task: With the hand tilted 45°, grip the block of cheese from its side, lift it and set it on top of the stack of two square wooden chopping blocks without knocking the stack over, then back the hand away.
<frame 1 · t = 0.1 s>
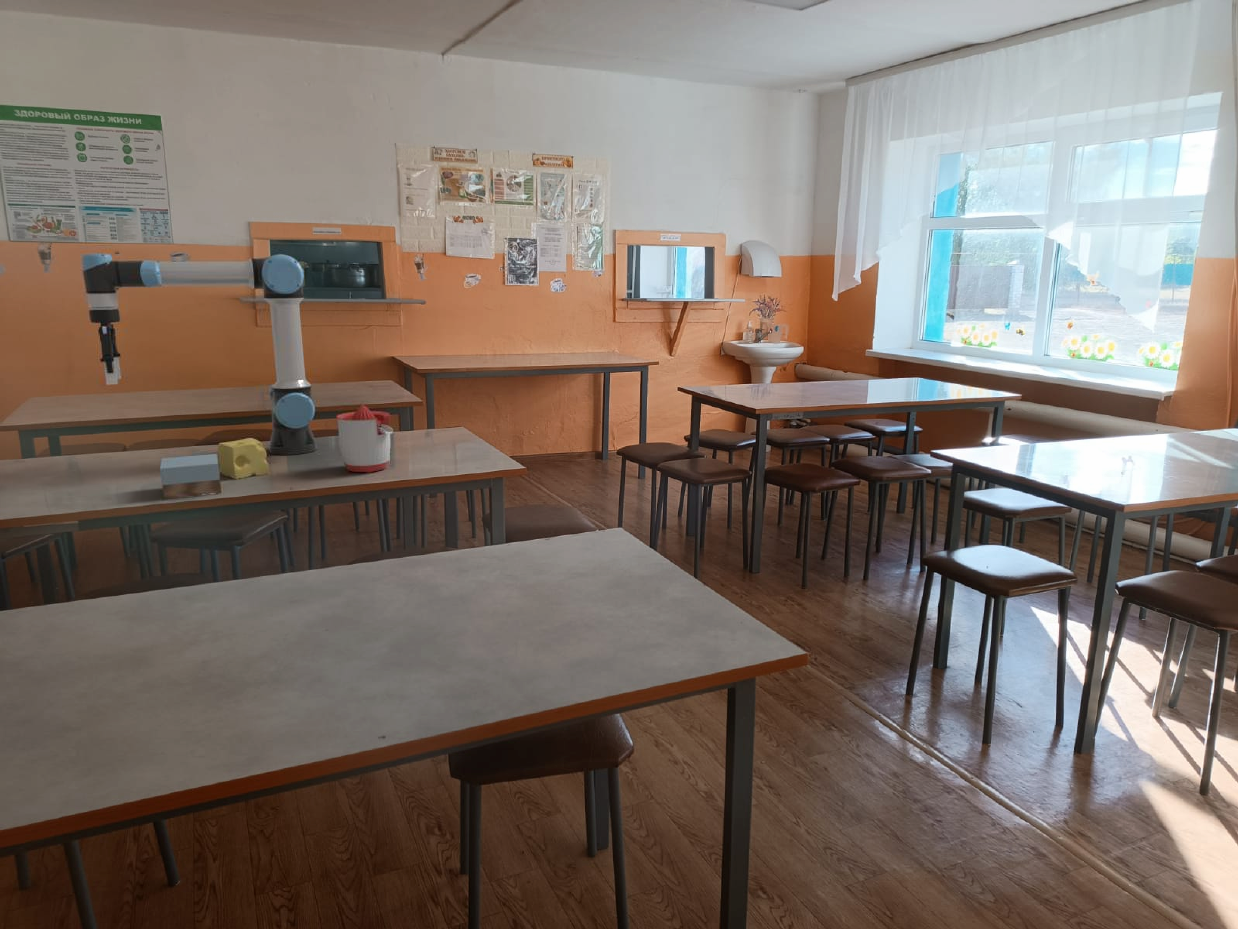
hand: (114, 381, 250), 28 cm above the table, tool pointing down, fingers open, 13 cm apart
tower base block: (193, 492, 237), on the table, touching tower top block
cheese: (244, 475, 256), on the table
citrus juicer: (369, 469, 262), on the table
tower top block: (191, 476, 235), point 4 cm above the table, touching tower base block
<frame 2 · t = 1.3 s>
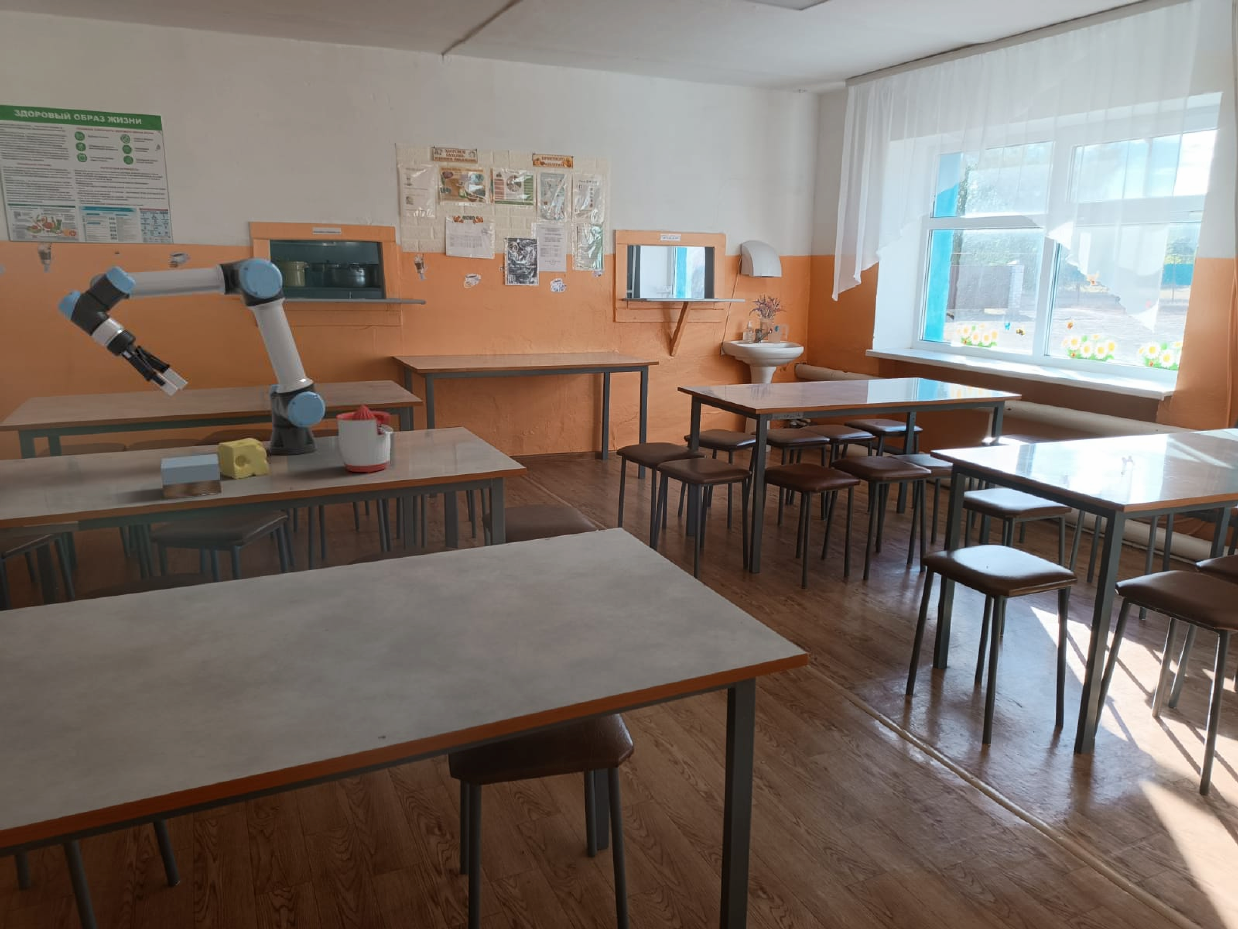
hand: (179, 389, 246), 26 cm above the table, tool tilted 45°, fingers open, 13 cm apart
nothing on the table moved.
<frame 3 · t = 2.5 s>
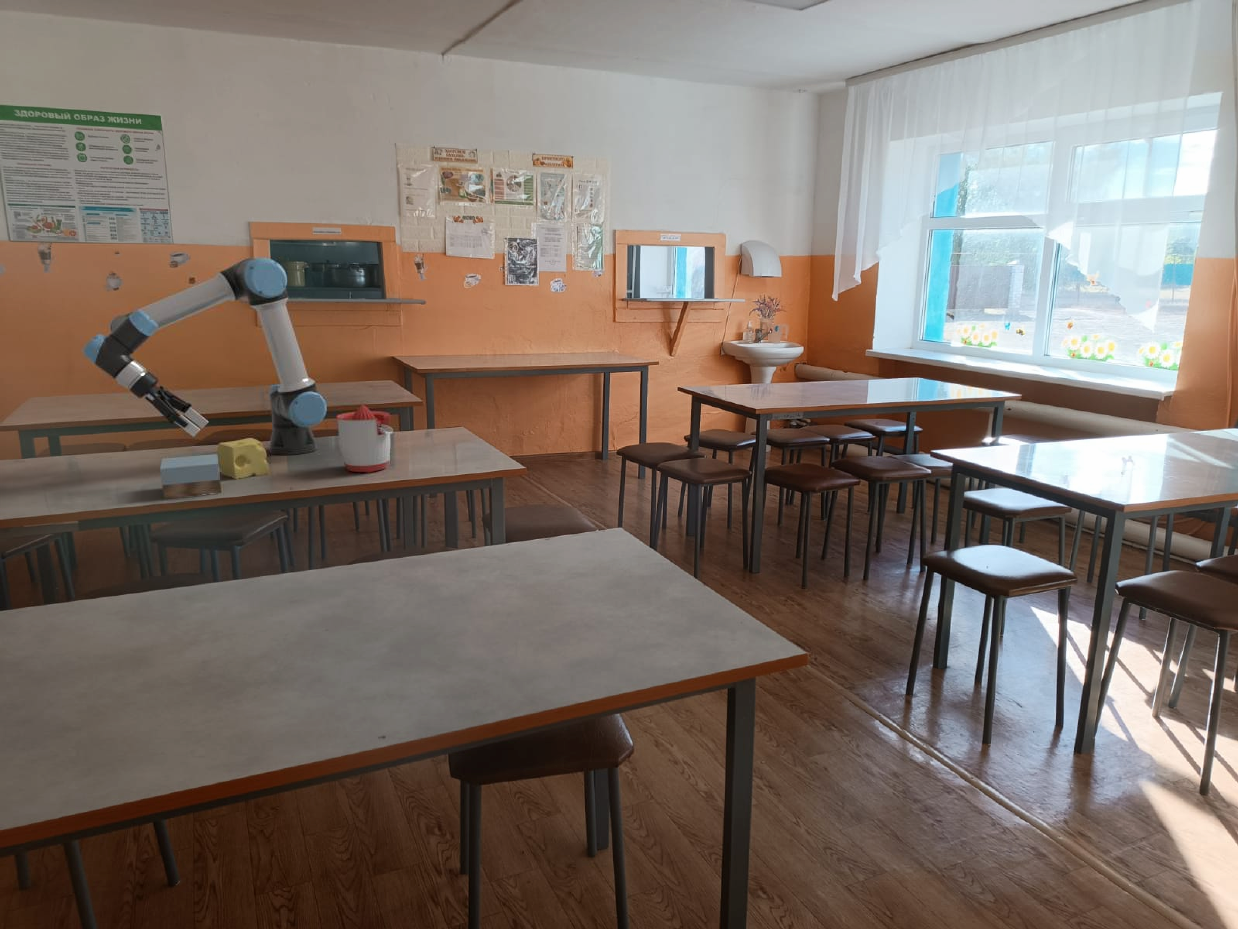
hand: (201, 429, 250), 14 cm above the table, tool tilted 45°, fingers open, 13 cm apart
nothing on the table moved.
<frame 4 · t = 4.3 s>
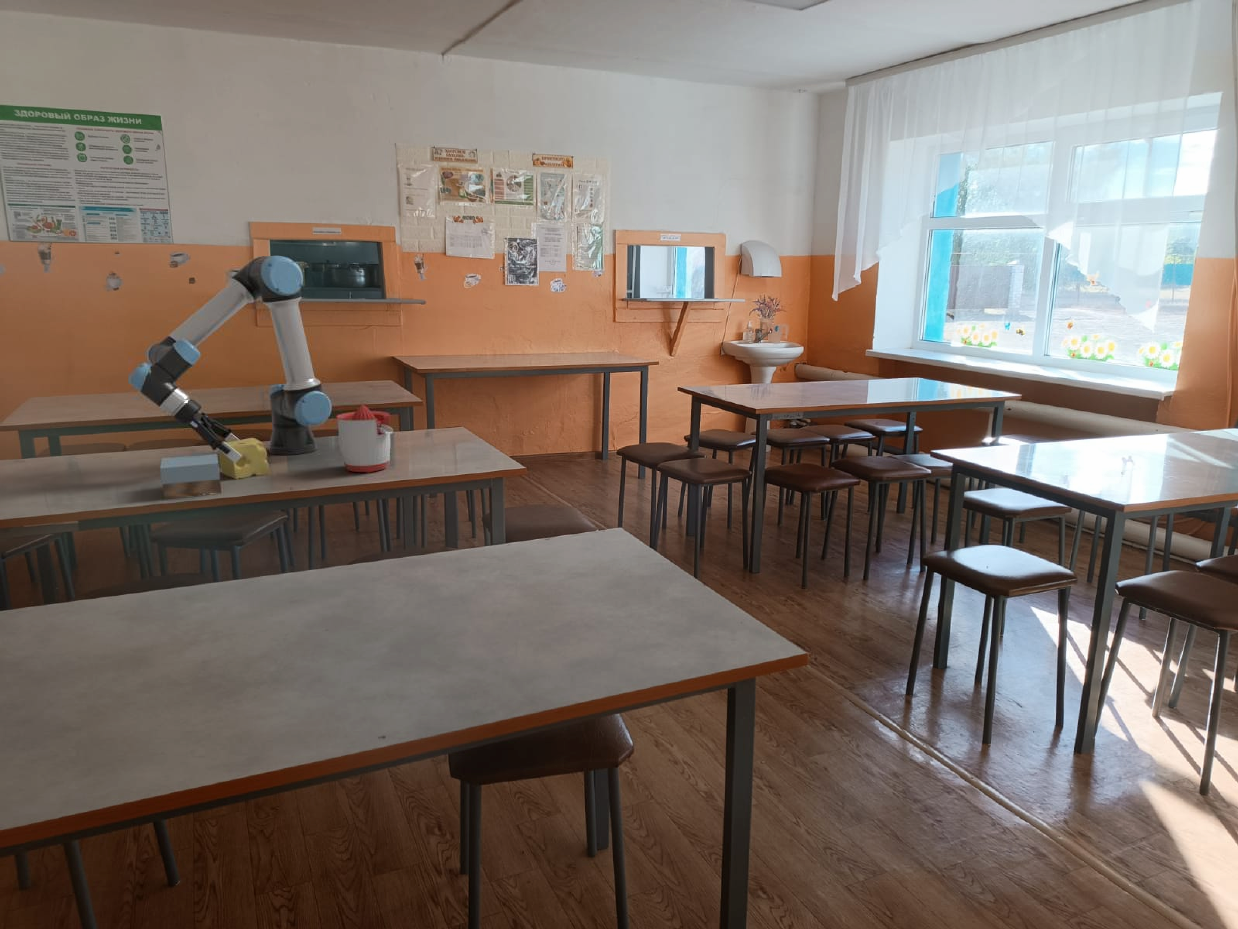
hand: (242, 454, 254), 6 cm above the table, tool tilted 45°, fingers closed on cheese, 13 cm apart
cheese: (245, 475, 256), on the table, touching gripper
everything else where it was.
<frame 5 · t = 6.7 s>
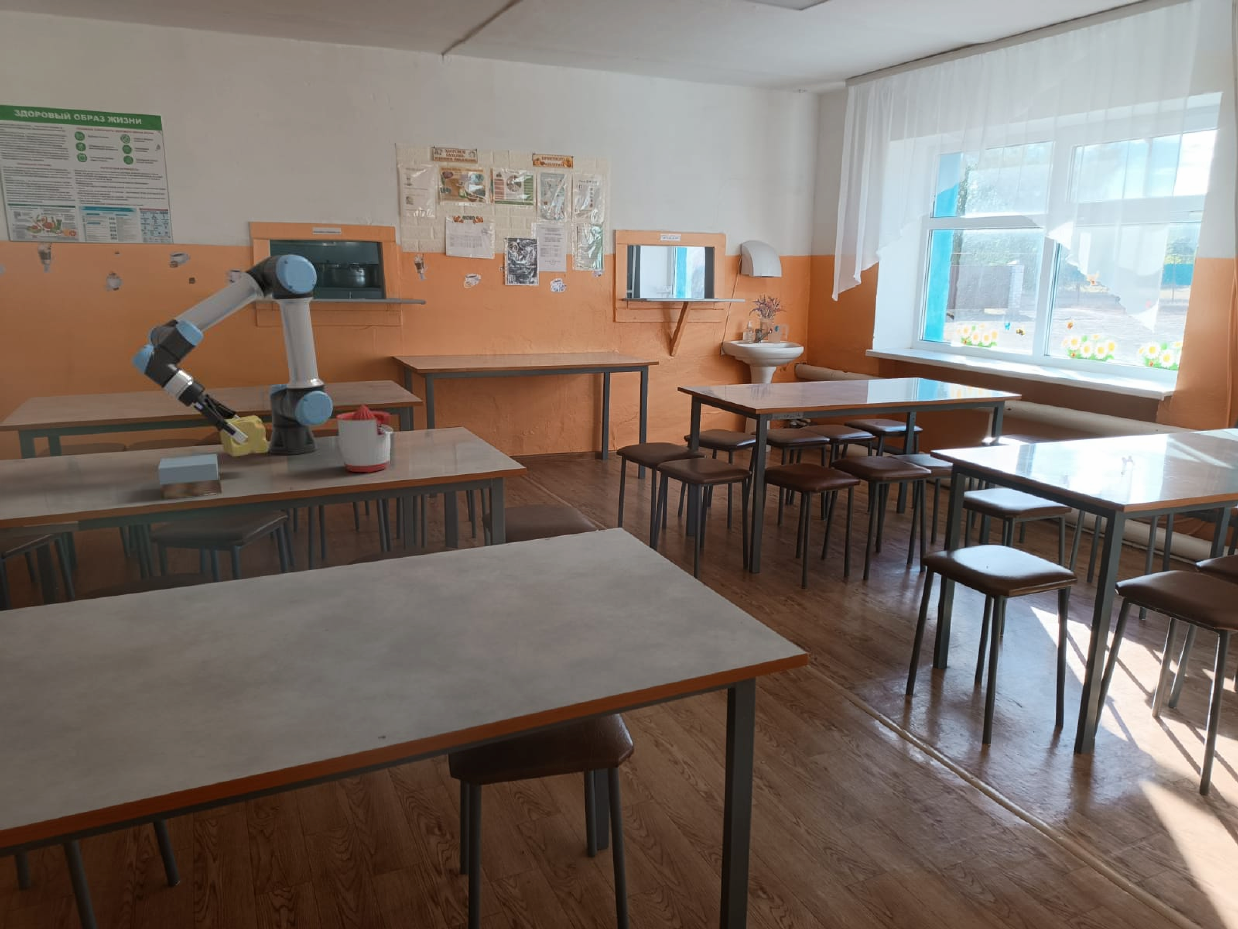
hand: (247, 436, 253), 12 cm above the table, tool tilted 45°, fingers closed on cheese, 13 cm apart
cheese: (245, 452, 254), point 7 cm above the table, touching gripper
everything else where it was.
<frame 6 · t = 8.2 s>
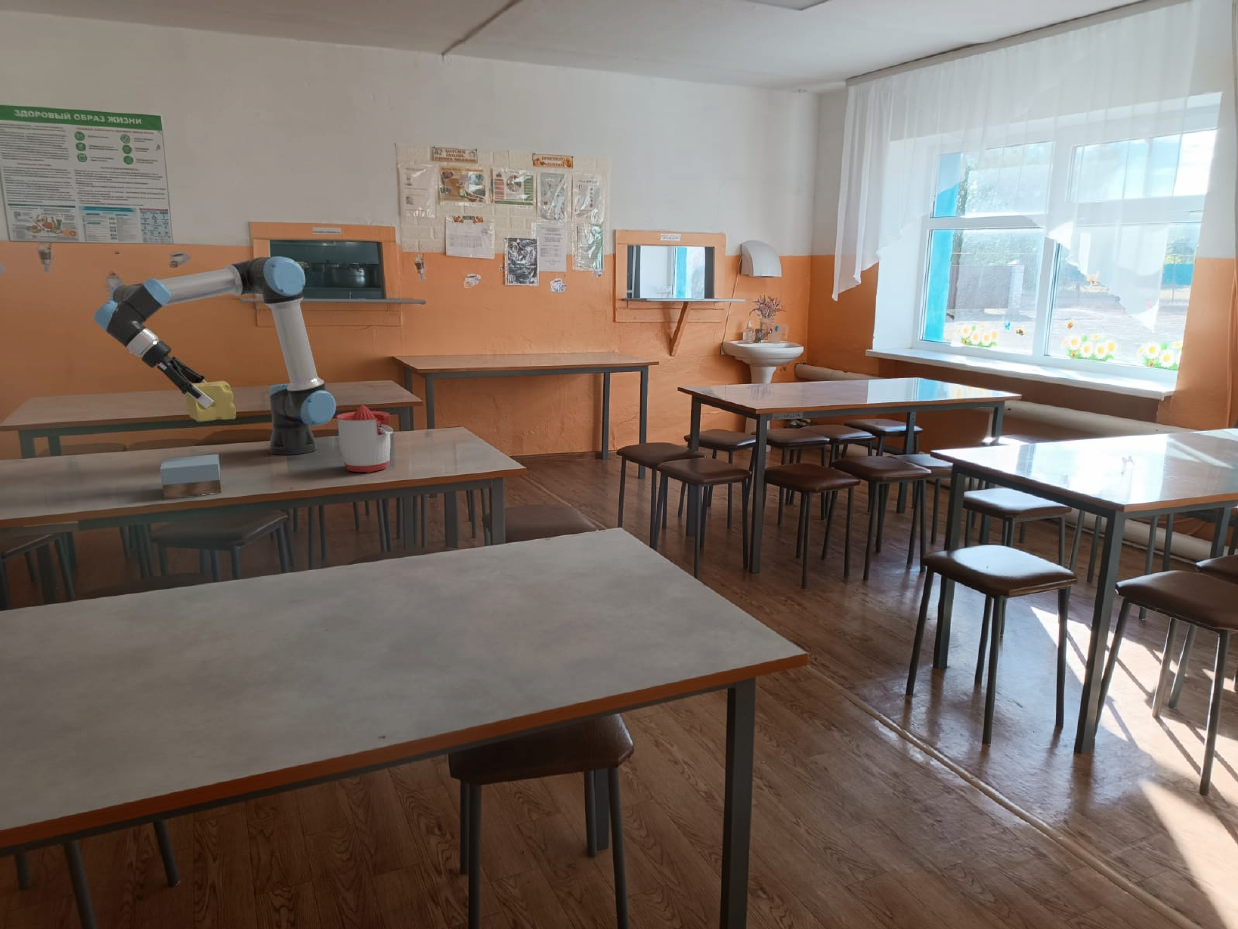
hand: (214, 401, 241), 23 cm above the table, tool tilted 45°, fingers closed on cheese, 13 cm apart
cheese: (212, 419, 242), point 19 cm above the table, touching gripper
everything else where it was.
when the fingers open (15 cm above the table, at t = 11.4 s): cheese drops 2 cm, resting on tower top block.
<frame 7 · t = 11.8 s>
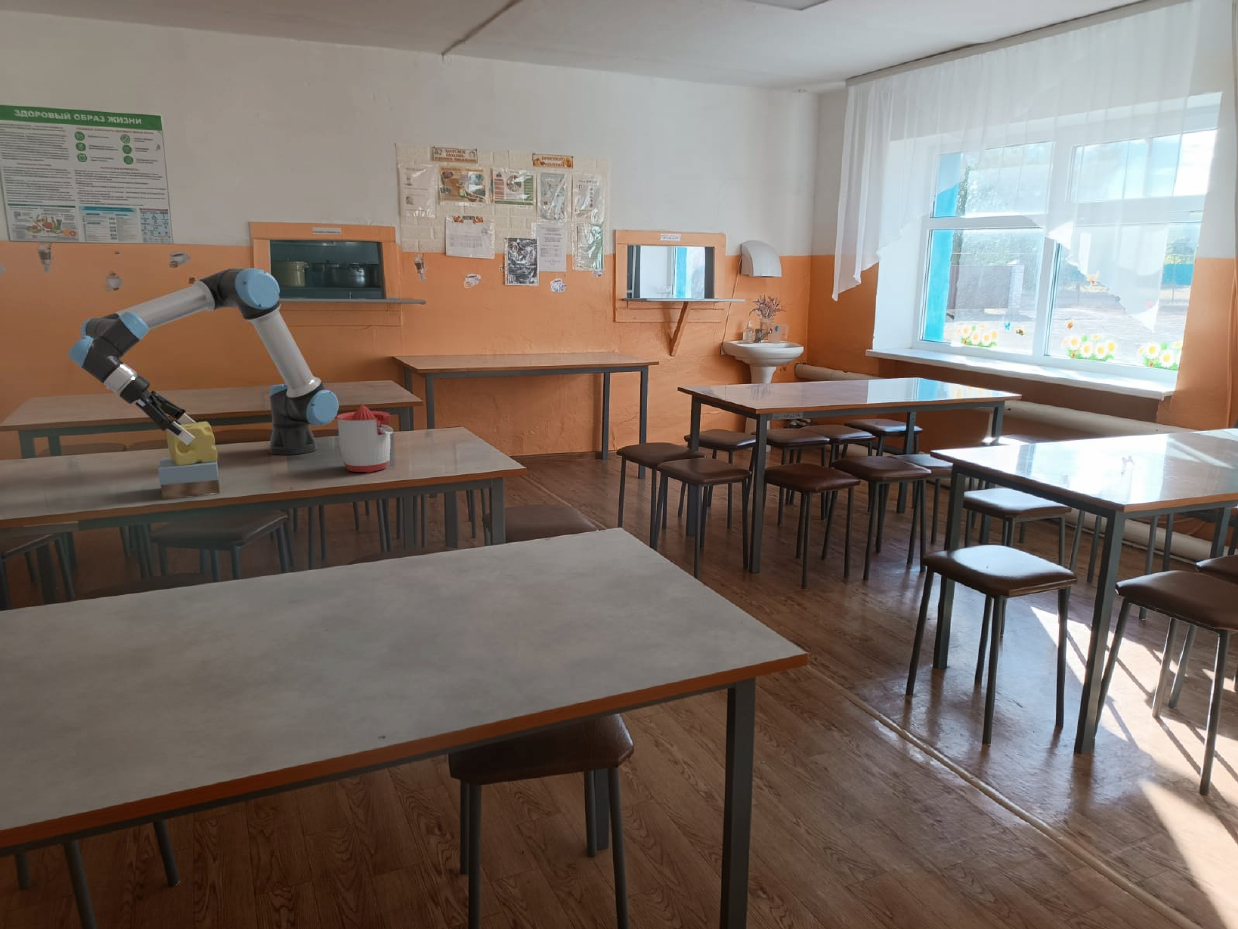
hand: (196, 436, 234), 15 cm above the table, tool tilted 45°, fingers open, 13 cm apart
cheese: (193, 461, 235), point 8 cm above the table, touching gripper, tower top block
tower top block: (190, 477, 236), point 4 cm above the table, touching cheese, tower base block
everything else where it was.
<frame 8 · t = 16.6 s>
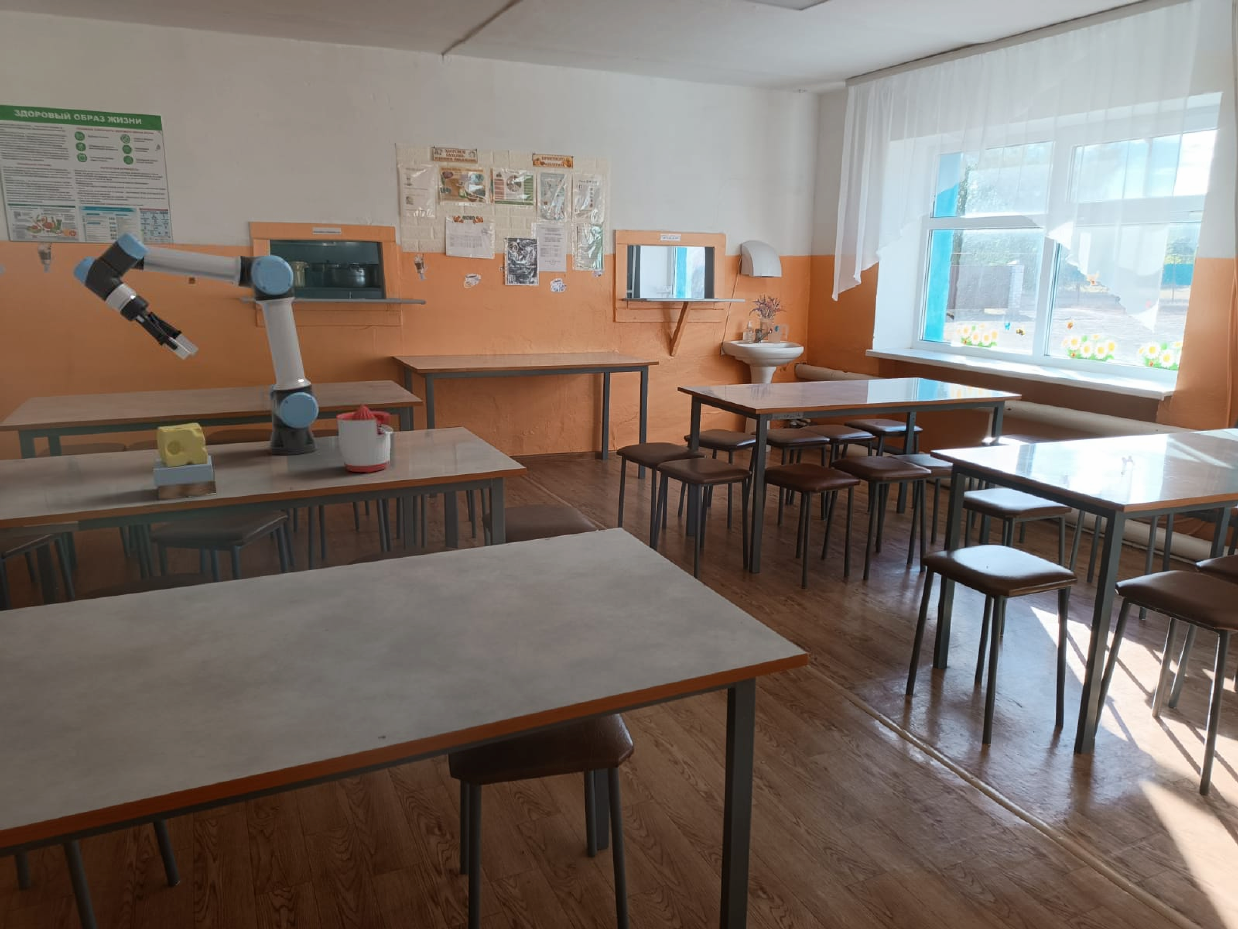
hand: (191, 354, 251), 36 cm above the table, tool tilted 45°, fingers open, 13 cm apart
cheese: (183, 463, 234), point 8 cm above the table, touching tower top block
tower top block: (184, 478, 235), point 4 cm above the table, touching cheese, tower base block
at the end: cheese inside the target area on the tower top block (0.1 cm from its centre), point 4.4 cm above the tower top block's base; tower top block 0.6 cm off-centre on the tower base block, point 4.5 cm above the tower base block's base; tower base block moved 1.3 cm from its start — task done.
